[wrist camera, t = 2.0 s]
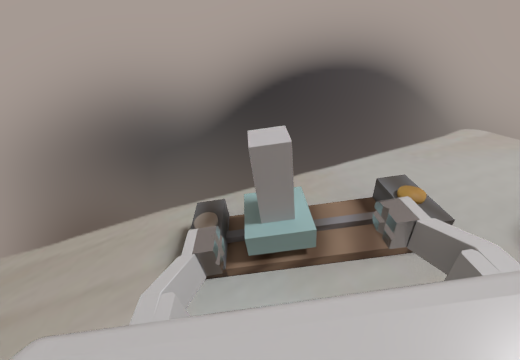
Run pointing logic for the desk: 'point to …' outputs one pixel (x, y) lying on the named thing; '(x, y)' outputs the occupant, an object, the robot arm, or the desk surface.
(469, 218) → the desk surface
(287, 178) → the block
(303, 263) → the rail
